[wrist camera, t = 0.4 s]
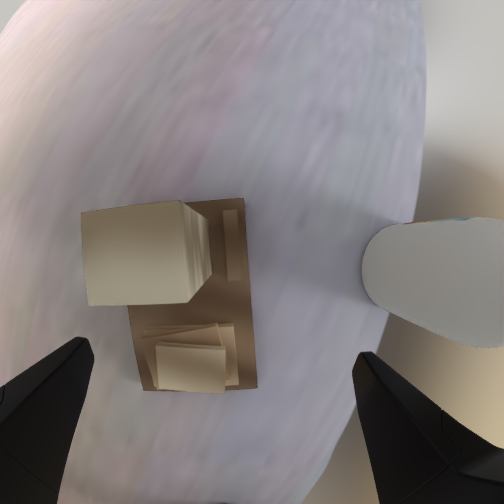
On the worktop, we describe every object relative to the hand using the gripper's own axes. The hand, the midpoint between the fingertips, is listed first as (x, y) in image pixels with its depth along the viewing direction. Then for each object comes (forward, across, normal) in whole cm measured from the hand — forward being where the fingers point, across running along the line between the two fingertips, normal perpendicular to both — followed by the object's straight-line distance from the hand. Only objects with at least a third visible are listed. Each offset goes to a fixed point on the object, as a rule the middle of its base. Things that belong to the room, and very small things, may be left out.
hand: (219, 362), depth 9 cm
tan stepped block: (+13, +3, +7) cm, 15 cm away
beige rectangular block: (+14, +4, +3) cm, 15 cm away
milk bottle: (+15, -14, +4) cm, 21 cm away
